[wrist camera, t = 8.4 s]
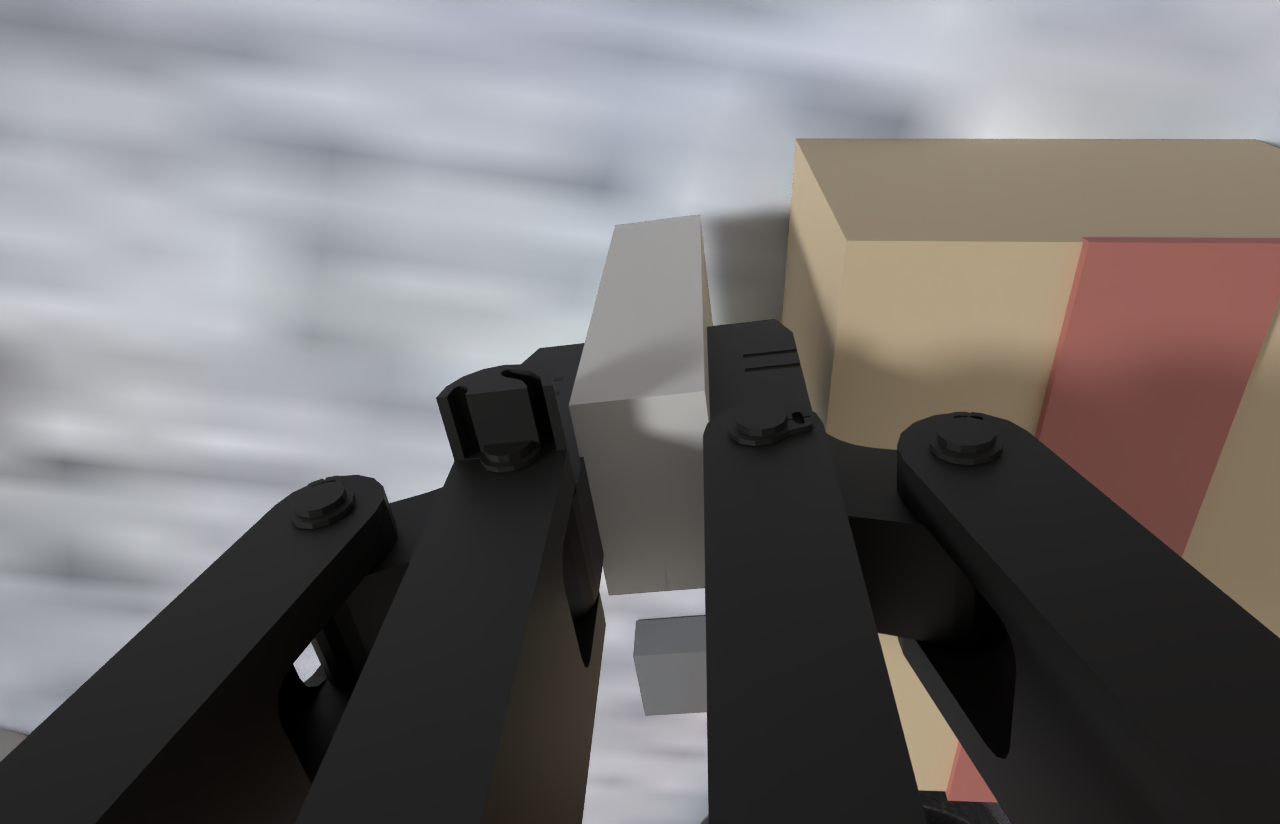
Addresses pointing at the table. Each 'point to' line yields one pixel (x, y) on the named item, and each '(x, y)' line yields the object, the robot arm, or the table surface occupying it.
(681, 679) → the dark grey flat u-shape
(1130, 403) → the carton
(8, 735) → the dish
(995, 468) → the robot arm
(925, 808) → the canister
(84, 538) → the table surface
